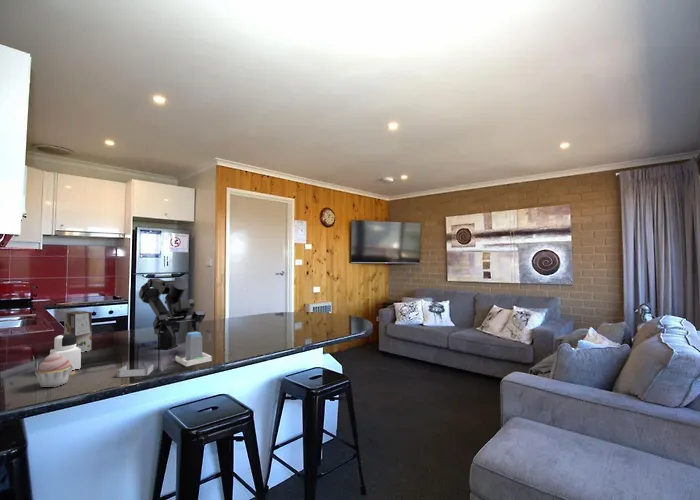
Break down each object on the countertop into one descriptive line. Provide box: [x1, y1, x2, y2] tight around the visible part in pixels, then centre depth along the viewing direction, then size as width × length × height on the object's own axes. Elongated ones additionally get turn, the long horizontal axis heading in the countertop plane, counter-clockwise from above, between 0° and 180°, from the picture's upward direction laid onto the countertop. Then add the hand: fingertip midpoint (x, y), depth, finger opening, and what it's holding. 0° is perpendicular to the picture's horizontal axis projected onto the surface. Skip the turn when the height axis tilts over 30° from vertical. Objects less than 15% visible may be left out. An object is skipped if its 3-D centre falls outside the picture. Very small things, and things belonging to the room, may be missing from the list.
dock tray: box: [175, 351, 213, 367], centre depth 136 cm, size 10×10×2 cm
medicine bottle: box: [49, 333, 82, 371], centre depth 125 cm, size 7×7×12 cm
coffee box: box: [63, 310, 93, 353], centre depth 149 cm, size 9×6×16 cm
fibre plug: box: [184, 331, 203, 361], centre depth 136 cm, size 4×4×10 cm
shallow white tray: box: [116, 363, 154, 378], centre depth 121 cm, size 6×9×2 cm, turn 101°
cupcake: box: [34, 352, 73, 388], centre depth 111 cm, size 9×9×10 cm
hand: (185, 336), depth 141 cm, fingers open, 9 cm apart
